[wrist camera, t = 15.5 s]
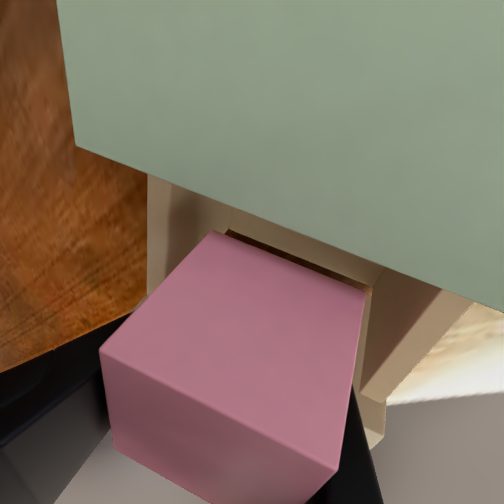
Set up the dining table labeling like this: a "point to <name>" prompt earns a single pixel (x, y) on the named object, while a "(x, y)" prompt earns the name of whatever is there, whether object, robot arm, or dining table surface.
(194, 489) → the block
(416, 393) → the dining table surface
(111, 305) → the dining table surface
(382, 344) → the drawer
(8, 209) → the dining table surface
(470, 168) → the cabinet
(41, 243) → the dining table surface
